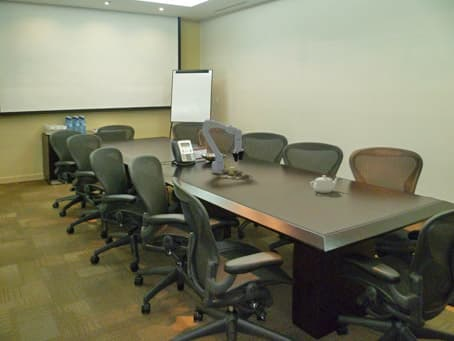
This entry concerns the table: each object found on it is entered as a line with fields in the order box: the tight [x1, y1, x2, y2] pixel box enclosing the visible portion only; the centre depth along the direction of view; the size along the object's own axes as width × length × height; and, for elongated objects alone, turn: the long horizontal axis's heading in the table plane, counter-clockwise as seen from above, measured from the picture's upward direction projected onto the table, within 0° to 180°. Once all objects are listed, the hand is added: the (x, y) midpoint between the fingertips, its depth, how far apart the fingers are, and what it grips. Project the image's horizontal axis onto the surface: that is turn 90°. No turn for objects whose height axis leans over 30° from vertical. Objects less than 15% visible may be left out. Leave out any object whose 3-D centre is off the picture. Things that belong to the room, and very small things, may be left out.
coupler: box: [228, 166, 238, 176], centre depth 312 cm, size 4×4×6 cm
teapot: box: [309, 174, 340, 194], centre depth 266 cm, size 22×14×11 cm, turn 111°
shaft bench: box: [217, 168, 247, 180], centre depth 313 cm, size 17×14×5 cm
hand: (238, 161), depth 327 cm, fingers open, 7 cm apart
